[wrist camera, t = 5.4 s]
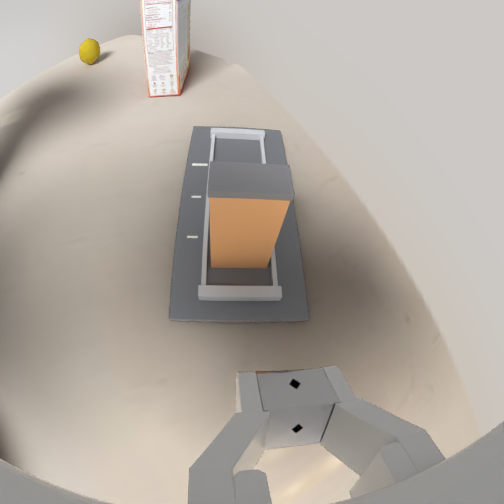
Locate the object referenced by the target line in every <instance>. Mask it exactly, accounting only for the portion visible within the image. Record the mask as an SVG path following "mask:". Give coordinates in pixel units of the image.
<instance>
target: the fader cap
mask: <svg viewBox="0 0 504 504" xmlns="http://www.w3.org/2000/svg"><path fill="white" fill-rule="evenodd" d="M207 194H208V198H209V209H210V249H211V268H261V269H266V268H267V266H268V263H269V260H270V257H271V255H272V252H273V249H274V246H275V243H276V240H277V238H278V235H279V232H280V229H281V226H282V223H283V221H284V218H285V215H286V212H287V209H288V206H289V203H290V201H293V198H294V196H295V193H294V188H293V182H292V176H291V171H290V166H289V165H278V164H264V163H246V162H221V161H210V167H209V178H208V190H207Z"/></svg>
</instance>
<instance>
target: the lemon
mask: <svg viewBox="0 0 504 504" xmlns="http://www.w3.org/2000/svg"><path fill="white" fill-rule="evenodd" d="M99 54H100V46H99V44H98V42H97V41H96V40H94V39H89V38H88V39H86V40H85V41H84V42H83V43H82V44H81V46H80V48H79V56H80V59H81V61H82V62H84V63H89V64H93V63H94V61H95V60H97V58H98V57H99Z"/></svg>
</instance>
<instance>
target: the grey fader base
mask: <svg viewBox="0 0 504 504" xmlns="http://www.w3.org/2000/svg"><path fill="white" fill-rule="evenodd" d="M210 161H221V162H246V163H264V164H278V165H287V163H286V158H285V152H284V147H283V142H282V137H281V132H280V131H279V130H268V129H255V128H238V127H204V126H194V127H193V132H192V137H191V142H190V148H189V153H188V159H187V165H186V170H185V177H184V183H183V189H182V196H181V203H180V210H179V217H178V225H177V233H176V242H175V251H174V260H173V271H172V282H171V295H170V309H169V319H170V321H185V322H290V321H307V320H308V319H309V314H308V305H307V296H306V288H305V280H304V272H303V265H302V257H301V250H300V243H299V236H298V229H297V223H296V216H295V210H294V204H293V201H290V203H289V206H288V209H287V212H286V215H285V218H284V221H283V223H282V226H281V229H280V232H279V235H278V238H277V240H276V243H275V246H274V249H273V252H272V255H271V257H270V260H269V263H268V266H267V268H266V269H261V268H211V249H210V209H209V198H208V194H207V190H208V178H209V167H210Z"/></svg>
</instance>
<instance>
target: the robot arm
mask: <svg viewBox="0 0 504 504" xmlns="http://www.w3.org/2000/svg"><path fill="white" fill-rule="evenodd" d="M315 443H320V444H321V445H322V446H323V447H324V448H325V449H327V450H328V451H329V452H330V453H332V454H333V455H334V456H335V457H336V458H338V459H339V460H340V461H342V462H343V463H344V464H345V465H347V466H348V467H349V468H350V469H352V470H353V471H354V472H356V473H357V474H358V475H360V476H361V477H360V478H359V479H358V481H357V482H356V483H355V485H354V486H353V487H352V488H351V490H350V491H349V492H350V495H351V497H352V498H350V499H347V500H343V501H339V502H336V503H331V504H504V421H503V422H502V423H501V424H499V425H498V426H497V427H495V428H494V429H492V430H491V431H490V432H488V433H487V434H485V435H484V436H483V437H481V438H480V439H478V440H477V441H475V442H474V443H472V444H471V445H469V446H467V447H466V448H464V449H463V450H461V451H459V452H458V453H456V454H454V455H452V456H451V457H449V458H447V459H445V457H444V456H443V454H442V453H441V452H440V450H439V449H438V447H437V446H436V444H435V443H434V441H433V440H432V439H431V437H430V436H429V434H428V433H427V432H426V430H425V429H423V428H420V427H418V426H416V425H414V424H412V423H410V422H408V421H405V420H403V419H401V418H399V417H397V416H395V415H393V414H391V413H389V412H387V411H385V410H383V409H381V408H379V407H377V406H375V405H373V404H371V403H369V402H368V401H366V400H364V399H357V397H356V396H355V394H354V392H353V391H352V389H351V387H350V386H349V384H348V382H347V380H346V379H345V377H344V375H343V374H342V372H341V370H340V369H339V367H338V366H336V365H333V366H326V367H320V368H311V369H300V370H286V371H255V372H237V377H236V413H235V414H234V416H233V417H232V418H231V420H230V421H229V422H228V423H227V425H226V426H225V427H224V428H223V430H222V431H221V432H220V433H219V434H218V436H217V437H216V438H215V439H214V440H213V442H212V443H211V444H210V445H209V446H208V448H207V449H206V450H205V451H204V452H203V453H202V455H201V456H200V457H199V458H198V459H197V460H196V461H195V463H194V464H193V465H192V466H191V467H190V468H189V486H188V504H272V502H271V497H270V492H269V487H268V482H267V477H266V473H264V472H262V471H260V470H253V469H254V467H255V466H256V464H257V462H258V460H259V459H260V457H261V455H262V453H263V451H264V450H265V449H275V448H283V447H290V446H299V445H308V444H315ZM0 504H112V503H108V502H104V501H101V500H97V499H94V498H90V497H87V496H84V495H81V494H78V493H75V492H72V491H69V490H66V489H64V488H61V487H58V486H56V485H53V484H51V483H49V482H46V481H44V480H42V479H39V478H37V477H35V476H33V475H31V474H29V473H27V472H25V471H23V470H21V469H19V468H17V467H15V466H13V465H11V464H9V463H7V462H6V461H4V460H2V459H0Z"/></svg>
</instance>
